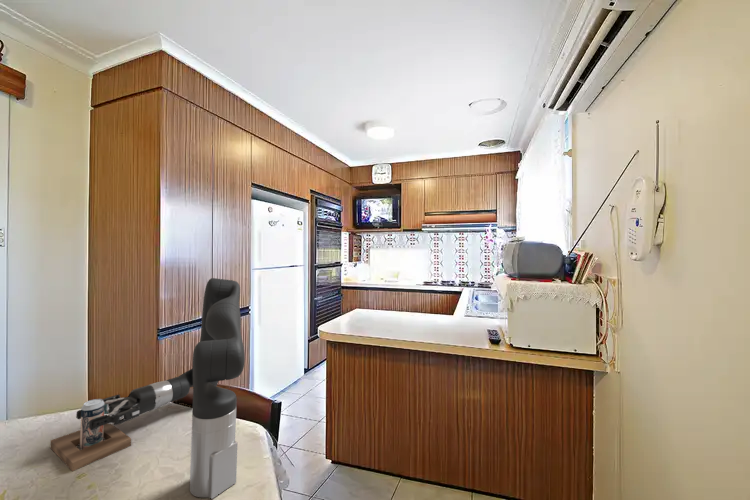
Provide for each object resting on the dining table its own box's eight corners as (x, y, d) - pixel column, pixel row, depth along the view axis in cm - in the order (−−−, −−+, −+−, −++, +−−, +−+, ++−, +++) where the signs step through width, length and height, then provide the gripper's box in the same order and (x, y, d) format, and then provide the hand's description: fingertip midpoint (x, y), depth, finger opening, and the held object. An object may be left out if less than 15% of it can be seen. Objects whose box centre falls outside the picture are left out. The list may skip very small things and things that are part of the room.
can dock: (130, 445, 87) (131, 438, 87) (72, 471, 76) (72, 462, 76) (106, 427, 95) (106, 420, 95) (50, 447, 85) (50, 440, 85)
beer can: (82, 454, 82) (83, 408, 82) (77, 447, 85) (79, 402, 85) (105, 445, 86) (107, 401, 86) (100, 439, 89) (102, 396, 89)
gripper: (140, 379, 102) (73, 398, 88) (163, 390, 94) (94, 414, 80) (139, 402, 102) (72, 426, 88) (162, 416, 94) (93, 443, 80)
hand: (82, 420), depth 84 cm, fingers open, 8 cm apart
